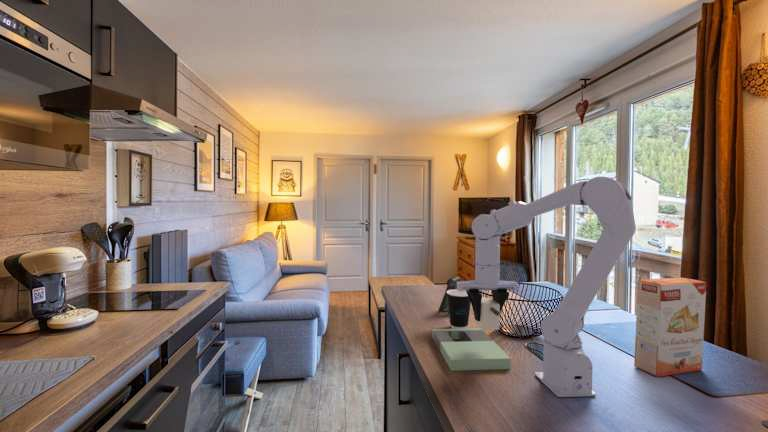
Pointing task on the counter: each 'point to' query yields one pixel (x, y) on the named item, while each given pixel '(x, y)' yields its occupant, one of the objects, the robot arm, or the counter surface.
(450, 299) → the dixie cup
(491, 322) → the plug
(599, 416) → the counter surface
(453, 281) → the door stopper
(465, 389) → the counter surface
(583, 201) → the robot arm
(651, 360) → the cracker box
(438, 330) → the board
